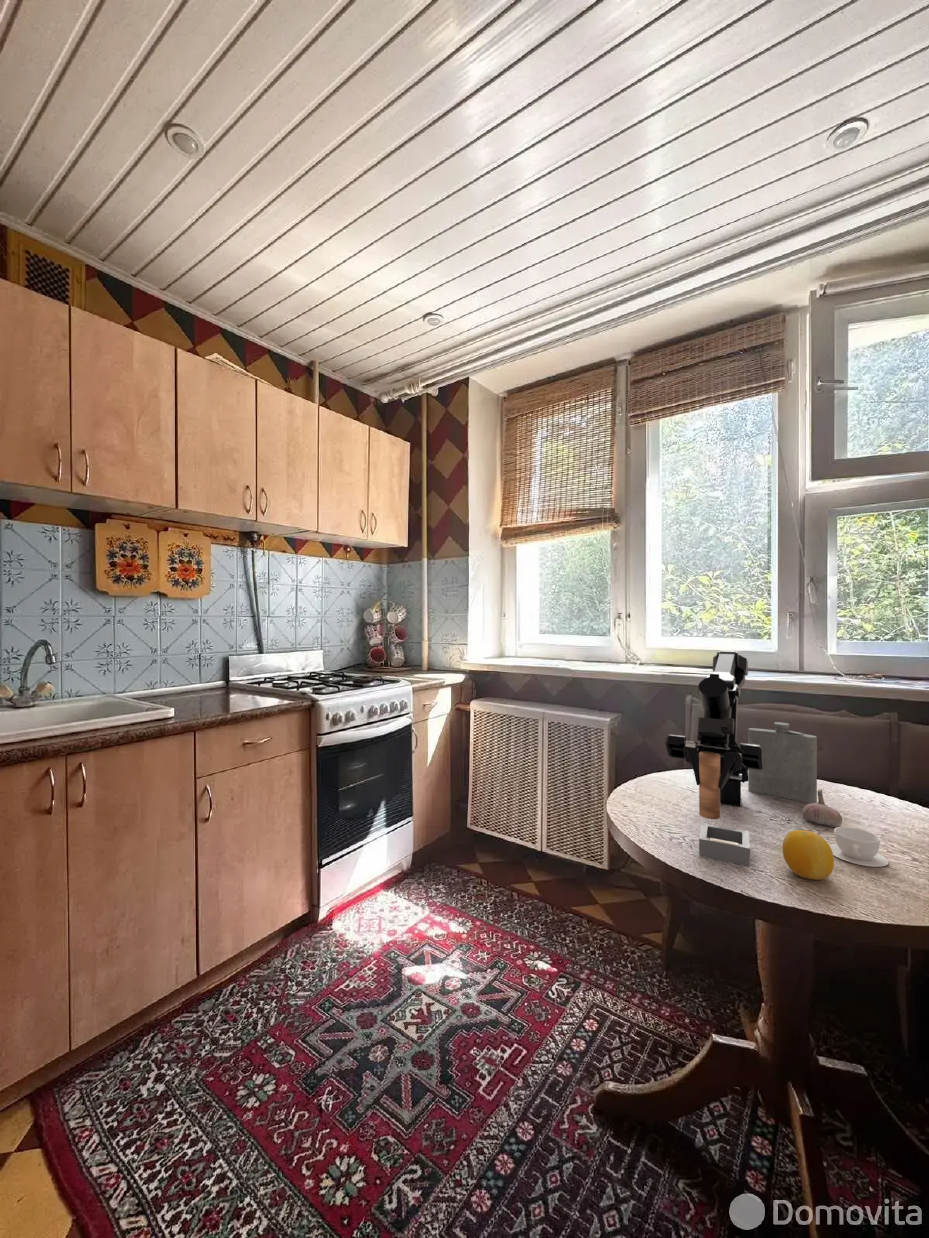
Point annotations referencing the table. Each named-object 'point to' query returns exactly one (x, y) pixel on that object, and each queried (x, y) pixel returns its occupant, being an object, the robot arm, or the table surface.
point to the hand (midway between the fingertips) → (708, 786)
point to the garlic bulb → (821, 813)
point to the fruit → (808, 854)
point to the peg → (709, 785)
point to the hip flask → (785, 764)
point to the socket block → (724, 844)
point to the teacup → (858, 847)
